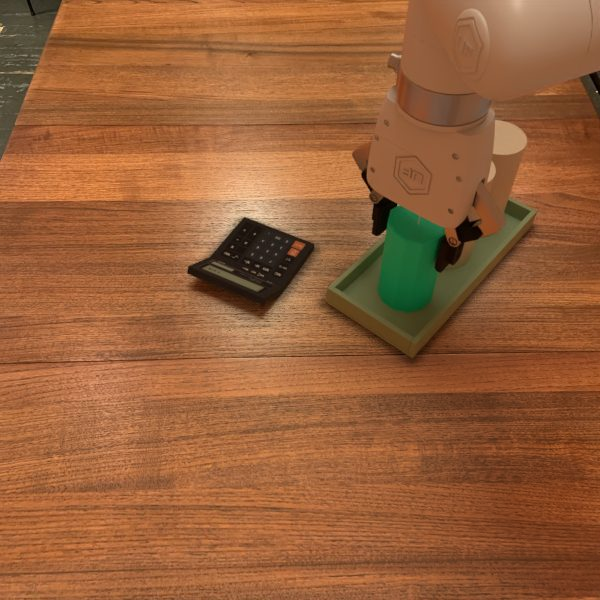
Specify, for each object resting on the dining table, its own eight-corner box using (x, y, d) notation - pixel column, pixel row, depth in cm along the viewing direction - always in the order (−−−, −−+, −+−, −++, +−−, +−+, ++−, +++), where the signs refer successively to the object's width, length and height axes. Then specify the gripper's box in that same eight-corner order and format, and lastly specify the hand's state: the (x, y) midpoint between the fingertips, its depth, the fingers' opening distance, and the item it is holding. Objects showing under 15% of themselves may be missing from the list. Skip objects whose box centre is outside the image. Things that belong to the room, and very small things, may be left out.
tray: (531, 226, 78) (537, 210, 76) (412, 358, 66) (415, 344, 64) (451, 185, 83) (455, 169, 81) (326, 302, 71) (326, 287, 69)
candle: (444, 298, 70) (466, 217, 61) (398, 320, 68) (414, 239, 59) (411, 263, 74) (427, 180, 64) (366, 283, 72) (377, 200, 62)
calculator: (314, 249, 76) (314, 230, 73) (263, 319, 69) (262, 301, 67) (244, 222, 78) (243, 203, 76) (189, 287, 72) (186, 268, 70)
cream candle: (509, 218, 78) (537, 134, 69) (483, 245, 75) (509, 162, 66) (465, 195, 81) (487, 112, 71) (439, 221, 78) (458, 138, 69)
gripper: (329, 68, 54) (322, 225, 67) (519, 157, 47) (468, 312, 60) (383, 33, 57) (366, 189, 71) (567, 110, 50) (509, 266, 64)
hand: (413, 244), depth 66 cm, fingers open, 6 cm apart
